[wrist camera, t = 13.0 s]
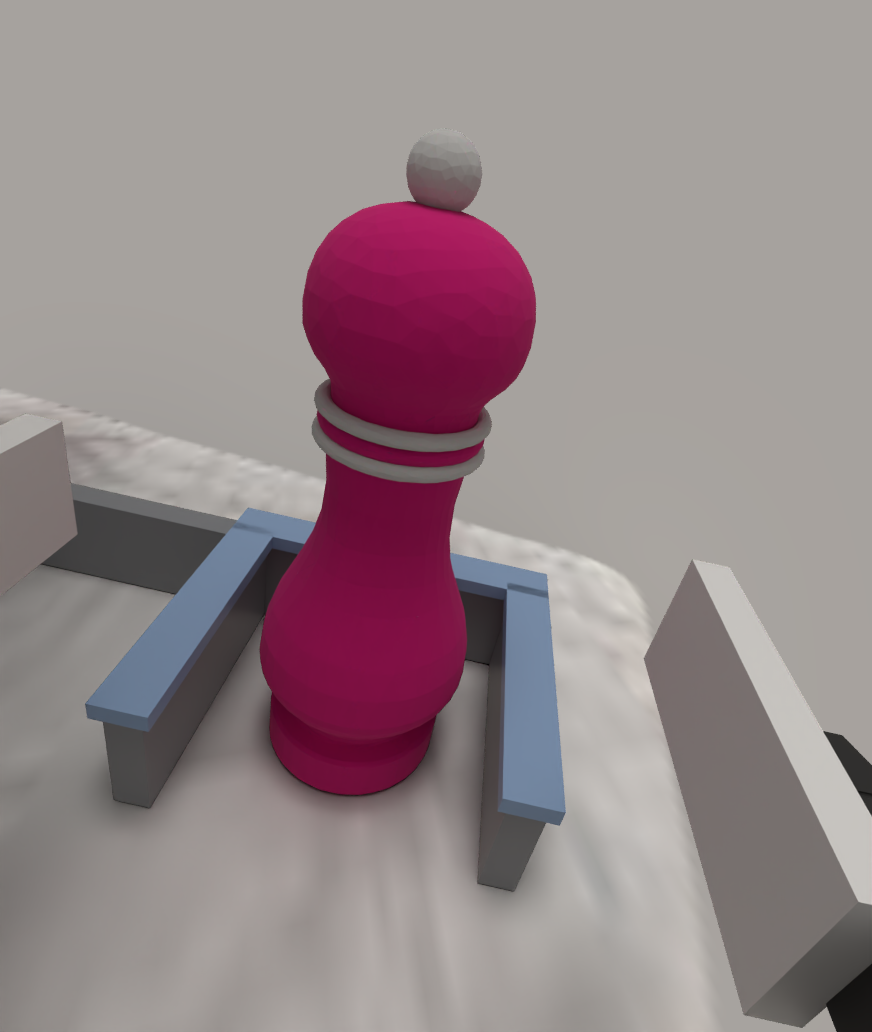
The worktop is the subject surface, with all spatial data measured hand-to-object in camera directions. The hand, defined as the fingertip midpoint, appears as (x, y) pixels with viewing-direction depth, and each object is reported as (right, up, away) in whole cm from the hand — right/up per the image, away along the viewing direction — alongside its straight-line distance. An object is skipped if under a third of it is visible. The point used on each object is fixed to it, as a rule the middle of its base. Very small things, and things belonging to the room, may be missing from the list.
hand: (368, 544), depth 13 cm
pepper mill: (-2, -8, +11) cm, 14 cm away
